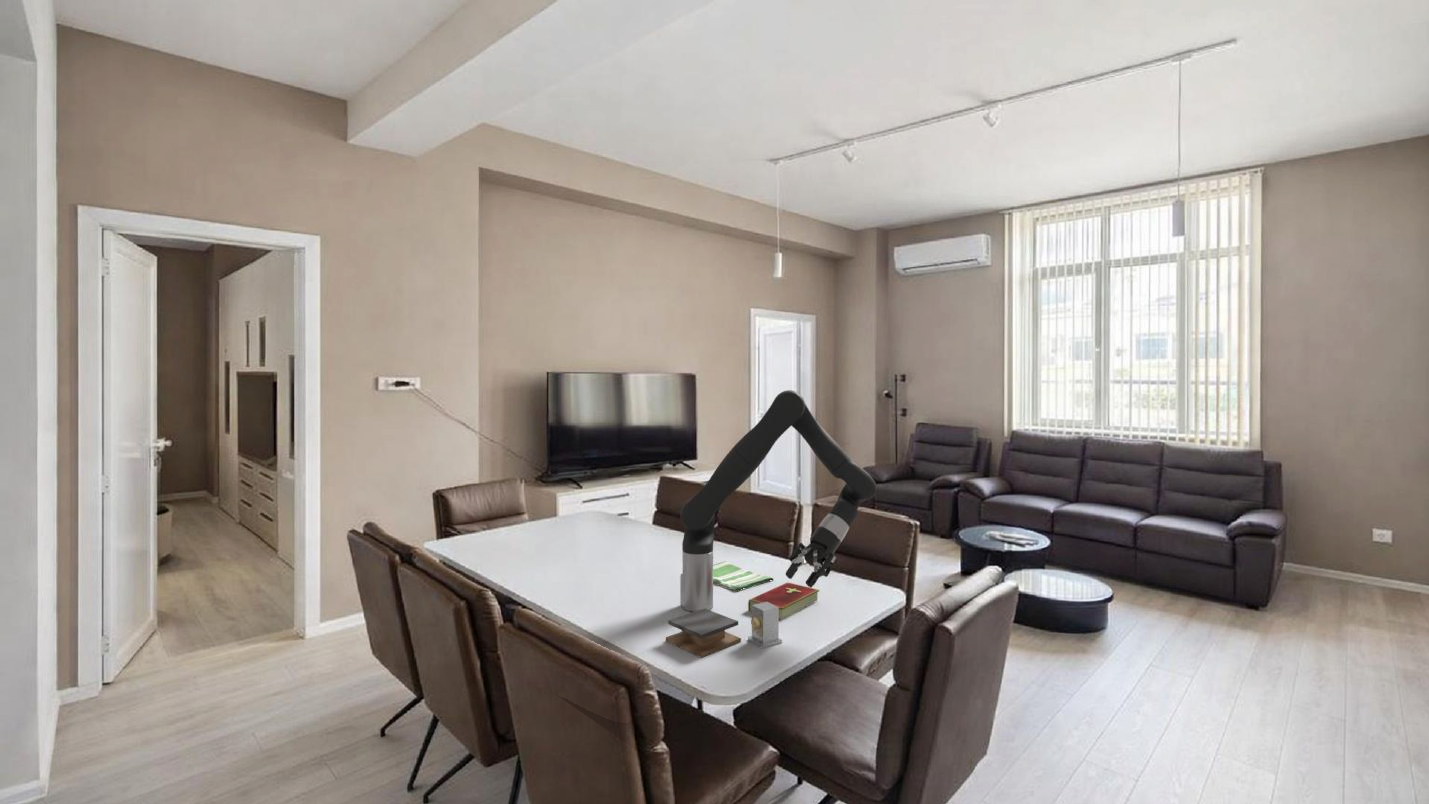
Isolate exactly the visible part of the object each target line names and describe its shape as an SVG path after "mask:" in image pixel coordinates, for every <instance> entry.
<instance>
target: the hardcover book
mask: <svg viewBox="0 0 1429 804" xmlns="http://www.w3.org/2000/svg"><path fill="white" fill-rule="evenodd" d="M819 592H820V589H817V588H813V587H808V586H807V585H806V586H805V585H801V584H796V583H792V582H785V583H783V584H780V585H779V586H776V587H774V588H772V589H770V590H768V591H765V592H763V593H761V594H759V595H756V596H754V597H752V598H750V599H749V600H748V601H747V602H748V603H747V609H748V612H752V605H755V604H759V603H763V602H769V603H771V604H773V605H775V606H777V607H779V620H781V621H782V620H784V619H786V618H788V617H790V616H792V615H794V614H795V613H798V612H799V611H801V610H803V609H805V608H806V607H805V606H807V607H809V606H810V605H809V604H811V603H812V604H815V603H816V602H818V601H817V600H818V597H819V596H818V594H819ZM815 601H816V602H815ZM812 604H811V605H812ZM808 605H809V606H808ZM804 607H805V608H804ZM800 609H801V610H800ZM798 610H799V611H798ZM793 613H794V614H793Z"/></svg>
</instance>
